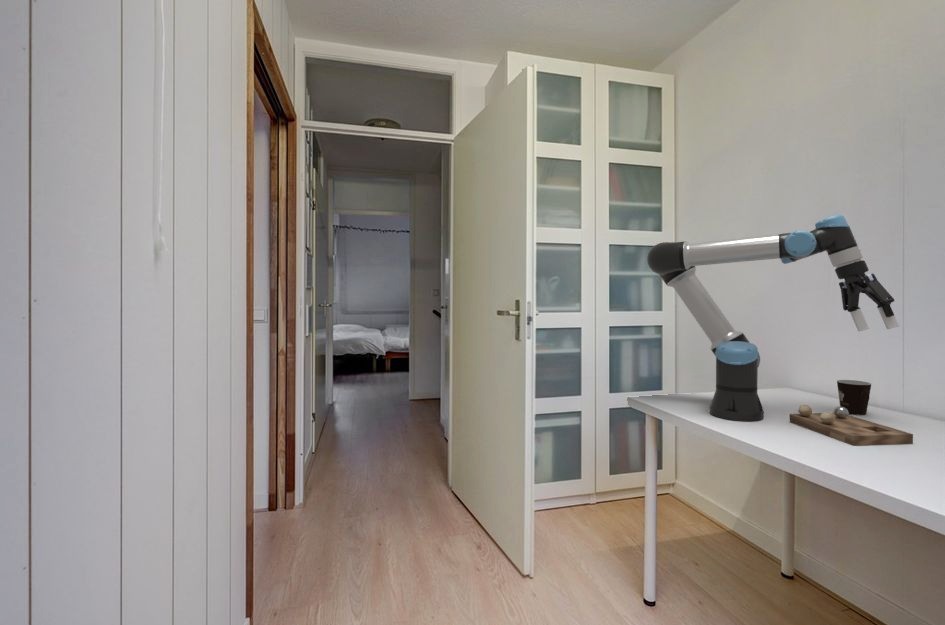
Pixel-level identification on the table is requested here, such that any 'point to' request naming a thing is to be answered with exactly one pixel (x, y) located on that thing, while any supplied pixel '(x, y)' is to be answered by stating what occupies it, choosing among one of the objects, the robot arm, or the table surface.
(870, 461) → the table surface
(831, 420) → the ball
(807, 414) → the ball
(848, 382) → the coffee mug
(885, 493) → the table surface
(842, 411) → the steel ball
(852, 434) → the walnut plate
